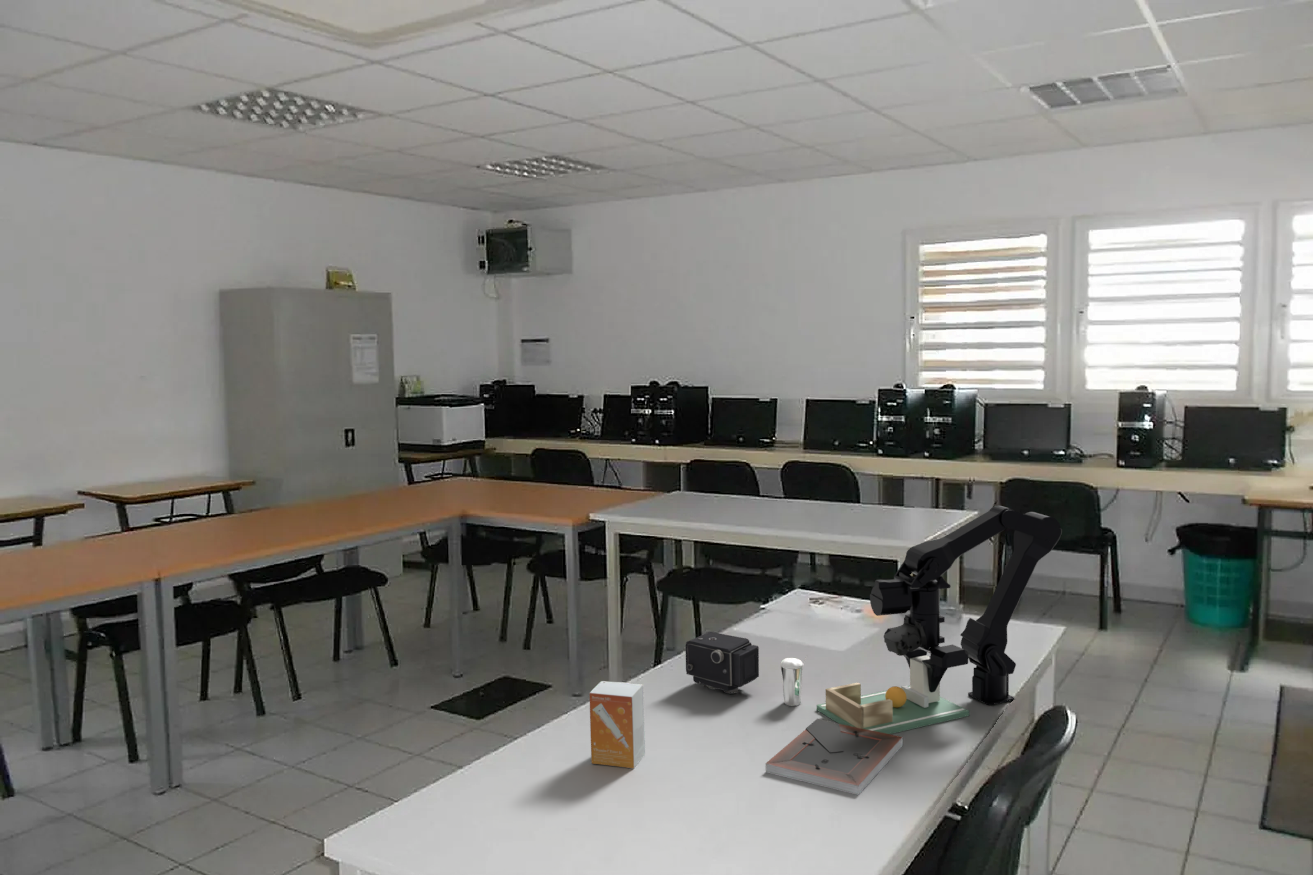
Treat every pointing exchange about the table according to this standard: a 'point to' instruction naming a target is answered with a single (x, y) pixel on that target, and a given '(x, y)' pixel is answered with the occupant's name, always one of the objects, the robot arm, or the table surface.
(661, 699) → the table surface
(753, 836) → the table surface
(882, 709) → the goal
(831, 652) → the table surface
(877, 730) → the board
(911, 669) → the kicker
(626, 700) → the small box
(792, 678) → the milkshake
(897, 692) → the ball
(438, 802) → the table surface
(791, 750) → the book
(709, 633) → the camera
